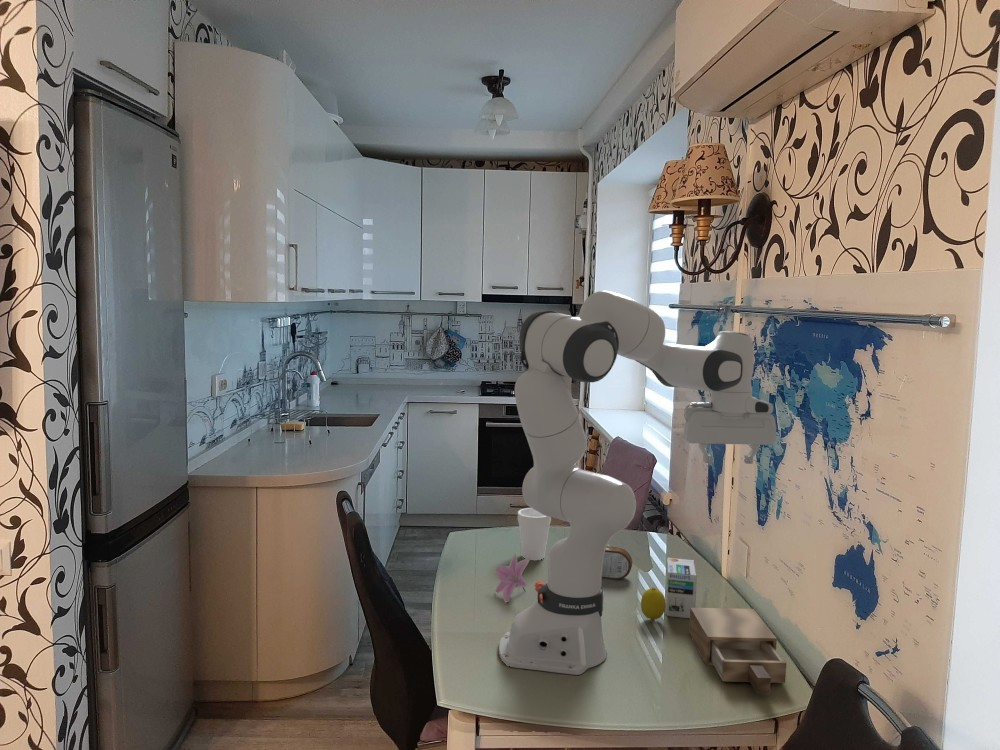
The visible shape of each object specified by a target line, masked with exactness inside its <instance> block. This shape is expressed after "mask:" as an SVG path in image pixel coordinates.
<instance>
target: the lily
mask: <svg viewBox="0 0 1000 750" xmlns="http://www.w3.org/2000/svg"><path fill="white" fill-rule="evenodd" d="M517 558H518V557H517V554H513V556H512V558H511V560H510V563H509V565H498V566H496V567H494V573H495V575H496V577H497V579H498V580H499V581H500V582H499V583H498V585H497V586H496V588H495V590H494V592H495V591H496V592H497V594H499V593H501V592H502V597H503V600H505V601H507V602H508V603H509V601H510V599H511V596H512V594H513V591H514V589H515V588H522V590H523V591H526V589H525V588H526V587H527V586H528V584H527V582H526V580H525V578H524V577H523V575H522V574H523V573H524V571H525V569H526V567H527V565H528V564H529V563H530V559H529V558H528V559H524V558H523V559H522V560H520V561H518V559H517Z"/></svg>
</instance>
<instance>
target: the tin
mask: <svg viewBox="0 0 1000 750" xmlns="http://www.w3.org/2000/svg"><path fill="white" fill-rule="evenodd" d="M632 567H633V558H632V557H631V555H630V553H629V552H628V551H627V550H626V549H624V548H623V547H617V546H610V545H609V546H608V545H607V547H606V549H605V552H604V557H603V565H602V578H601V579H607V580H614V581H615V580H616V581H618V580H619V581H620V580H623V579H625V578H626V577H628V576H629V574H630V573H631V570H632Z"/></svg>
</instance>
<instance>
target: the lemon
mask: <svg viewBox="0 0 1000 750" xmlns="http://www.w3.org/2000/svg"><path fill="white" fill-rule="evenodd" d="M640 608H641V612H642V614H643V615H644V616H645V617H646V618H647V619H649V620H650V621H651V622H654V621H655V620H658V619H660V618H661V617H663V615H664V614H665V611H666V597H665V596H664V594H663V592H661V590H659V589H658V588H656V587H651V588H648V589H647V590H645V591H644V592H643V594H642V596H641V599H640Z"/></svg>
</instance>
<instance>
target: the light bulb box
mask: <svg viewBox="0 0 1000 750" xmlns="http://www.w3.org/2000/svg"><path fill="white" fill-rule="evenodd" d="M697 578H698V574H697V570H696V566H695V560H694V559H684V558H674V557H667V558H666V580H665V581H666V582H665V583H666V584H665V586H666V587H665V588H666V589H665V611H666V616H667V617H675V618H681V619H682V618H684V619H690V608H696V607H697V606H696V601H697V580H698V579H697Z"/></svg>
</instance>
